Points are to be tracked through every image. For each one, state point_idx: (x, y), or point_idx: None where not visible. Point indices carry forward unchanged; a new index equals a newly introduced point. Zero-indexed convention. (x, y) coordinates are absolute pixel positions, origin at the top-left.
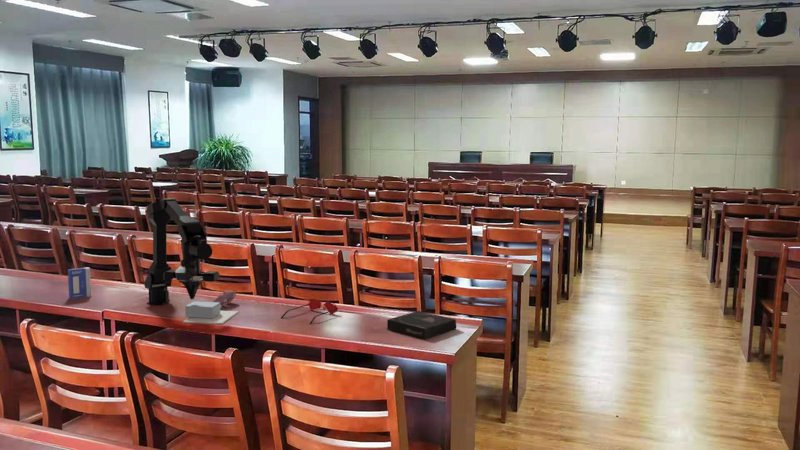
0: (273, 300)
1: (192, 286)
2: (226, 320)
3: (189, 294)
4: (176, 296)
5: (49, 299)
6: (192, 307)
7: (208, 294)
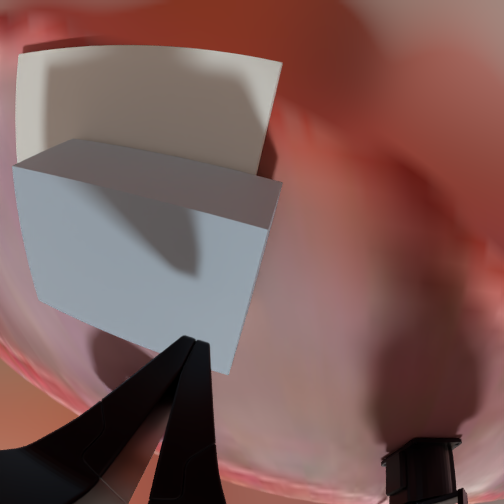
0: (46, 384)
1: (86, 467)
2: (18, 124)
3: (199, 388)
4: (355, 481)
5: None
6: (181, 199)
7: (258, 480)
